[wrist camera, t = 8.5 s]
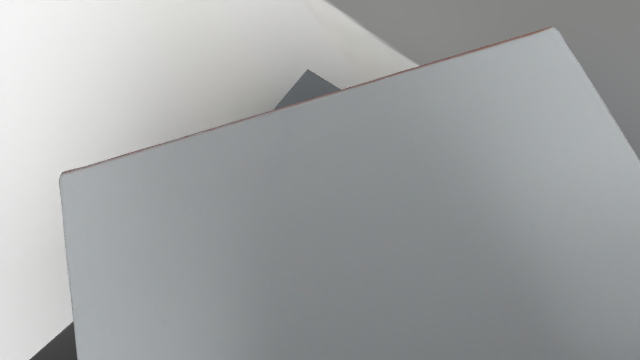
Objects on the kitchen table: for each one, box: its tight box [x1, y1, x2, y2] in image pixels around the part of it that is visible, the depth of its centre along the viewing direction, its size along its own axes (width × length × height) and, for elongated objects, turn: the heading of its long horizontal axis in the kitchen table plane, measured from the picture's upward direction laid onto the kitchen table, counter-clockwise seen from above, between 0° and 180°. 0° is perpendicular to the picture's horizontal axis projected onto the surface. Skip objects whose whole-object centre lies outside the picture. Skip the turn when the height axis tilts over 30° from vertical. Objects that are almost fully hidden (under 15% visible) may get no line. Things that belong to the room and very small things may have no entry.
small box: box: [59, 27, 640, 360], centre depth 10 cm, size 8×6×10 cm
